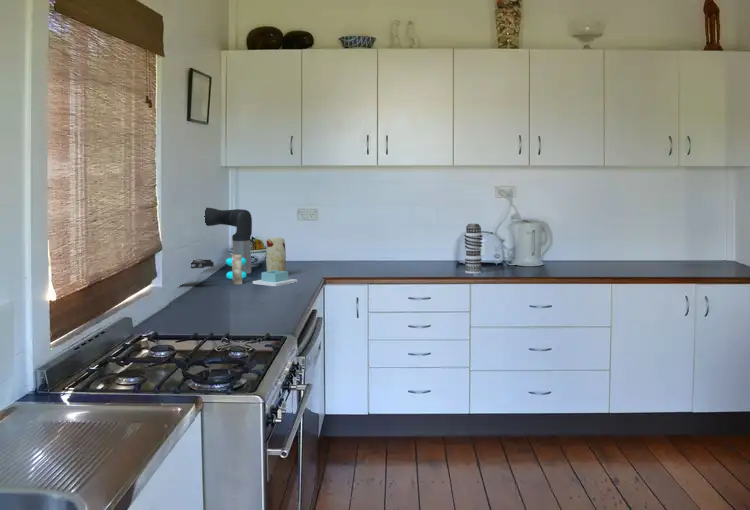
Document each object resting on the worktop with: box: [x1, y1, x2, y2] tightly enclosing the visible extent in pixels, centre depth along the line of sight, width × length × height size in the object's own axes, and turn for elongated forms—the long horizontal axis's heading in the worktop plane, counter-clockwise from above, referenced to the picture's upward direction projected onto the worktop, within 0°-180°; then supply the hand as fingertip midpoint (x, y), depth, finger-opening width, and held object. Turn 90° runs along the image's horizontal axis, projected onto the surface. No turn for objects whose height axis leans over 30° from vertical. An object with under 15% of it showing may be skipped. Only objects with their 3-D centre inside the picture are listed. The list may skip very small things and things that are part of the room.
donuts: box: [225, 257, 247, 280], centre depth 367 cm, size 10×10×10 cm
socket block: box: [252, 270, 298, 287], centre depth 351 cm, size 15×15×5 cm
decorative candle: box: [464, 223, 483, 274], centre depth 378 cm, size 9×9×25 cm
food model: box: [265, 236, 287, 272], centre depth 370 cm, size 10×7×20 cm
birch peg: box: [231, 253, 243, 286], centre depth 348 cm, size 4×4×14 cm
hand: (212, 262), depth 344 cm, fingers open, 8 cm apart
